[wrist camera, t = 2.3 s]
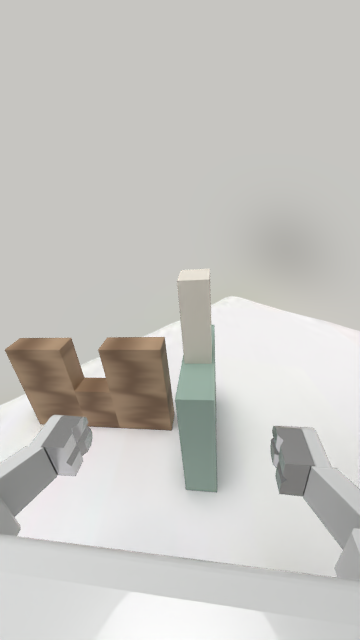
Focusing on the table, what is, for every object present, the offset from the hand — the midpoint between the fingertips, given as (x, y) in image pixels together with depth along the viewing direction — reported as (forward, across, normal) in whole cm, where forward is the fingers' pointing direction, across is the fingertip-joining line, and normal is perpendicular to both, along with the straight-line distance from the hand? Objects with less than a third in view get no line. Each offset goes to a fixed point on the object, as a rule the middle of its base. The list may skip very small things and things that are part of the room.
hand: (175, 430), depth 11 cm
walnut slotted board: (+15, +13, +17) cm, 26 cm away
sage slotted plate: (+13, 0, +17) cm, 21 cm away
